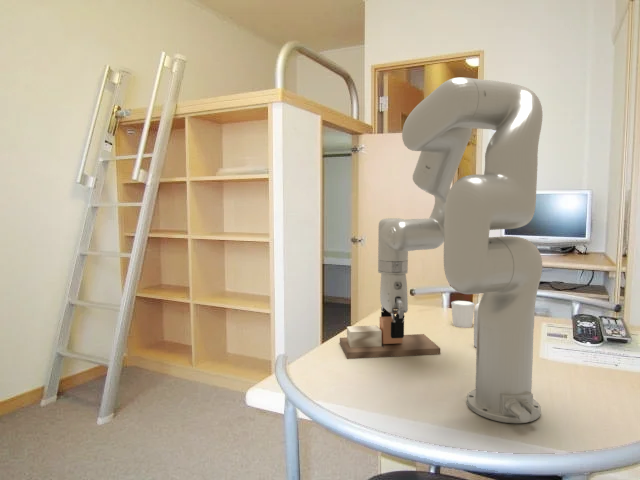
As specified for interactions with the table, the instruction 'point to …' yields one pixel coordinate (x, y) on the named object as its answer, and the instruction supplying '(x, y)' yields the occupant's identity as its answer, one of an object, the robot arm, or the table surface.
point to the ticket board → (370, 344)
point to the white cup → (462, 313)
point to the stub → (387, 331)
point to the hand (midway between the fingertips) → (391, 331)
